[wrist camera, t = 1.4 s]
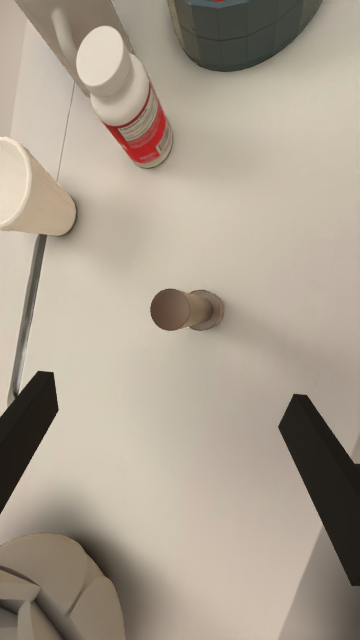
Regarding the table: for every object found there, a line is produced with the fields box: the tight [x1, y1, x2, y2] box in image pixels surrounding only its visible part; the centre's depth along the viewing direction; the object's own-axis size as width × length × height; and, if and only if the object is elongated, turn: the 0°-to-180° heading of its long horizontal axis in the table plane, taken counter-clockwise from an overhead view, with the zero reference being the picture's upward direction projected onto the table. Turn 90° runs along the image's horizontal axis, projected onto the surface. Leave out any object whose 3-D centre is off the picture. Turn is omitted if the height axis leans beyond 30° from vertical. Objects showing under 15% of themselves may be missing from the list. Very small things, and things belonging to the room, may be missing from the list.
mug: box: [15, 0, 133, 98], centre depth 26 cm, size 12×8×11 cm
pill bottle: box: [76, 26, 172, 168], centre depth 25 cm, size 6×6×11 cm
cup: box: [0, 137, 77, 236], centre depth 30 cm, size 10×10×9 cm
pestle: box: [150, 289, 224, 331], centre depth 22 cm, size 4×4×14 cm
